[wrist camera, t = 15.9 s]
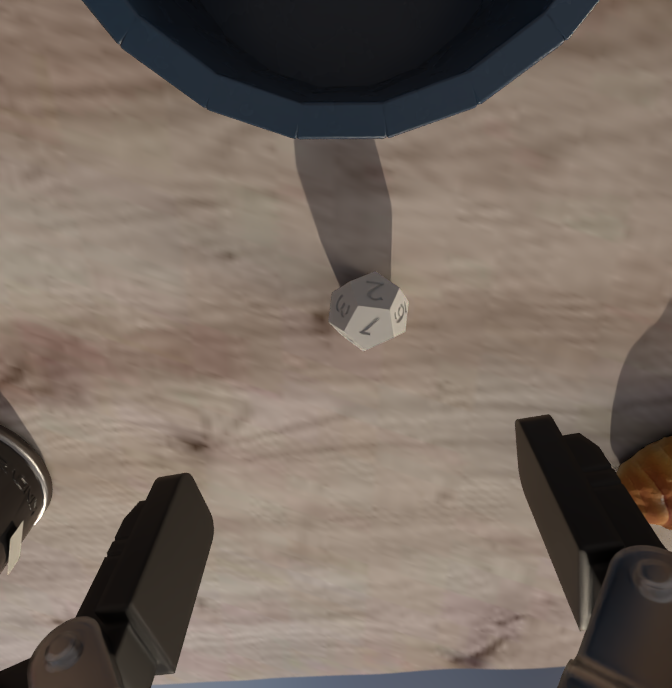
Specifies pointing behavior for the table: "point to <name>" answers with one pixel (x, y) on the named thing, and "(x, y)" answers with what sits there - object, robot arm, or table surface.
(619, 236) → the table surface
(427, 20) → the pot
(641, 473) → the pastry
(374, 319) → the game die
